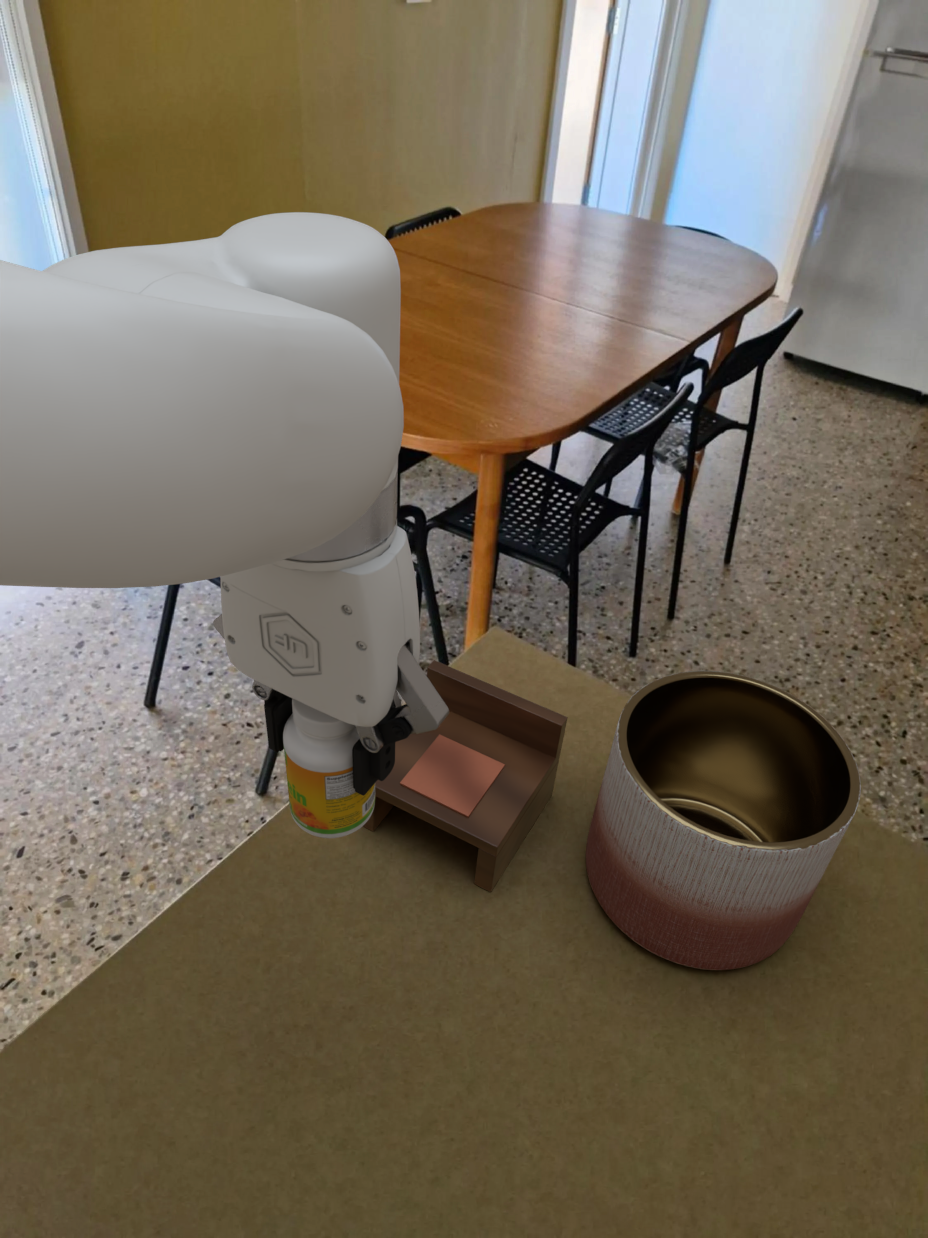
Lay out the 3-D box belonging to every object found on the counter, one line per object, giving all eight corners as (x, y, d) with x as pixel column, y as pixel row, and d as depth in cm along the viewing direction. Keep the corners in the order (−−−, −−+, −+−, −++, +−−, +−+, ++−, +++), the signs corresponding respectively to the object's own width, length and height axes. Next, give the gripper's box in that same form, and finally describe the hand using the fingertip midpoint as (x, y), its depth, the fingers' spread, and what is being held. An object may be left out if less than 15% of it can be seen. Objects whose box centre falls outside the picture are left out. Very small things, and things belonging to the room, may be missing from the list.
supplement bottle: (278, 789, 57) (266, 680, 51) (356, 763, 59) (353, 655, 53) (306, 853, 54) (297, 744, 48) (388, 823, 56) (389, 714, 50)
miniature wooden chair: (490, 893, 72) (502, 814, 66) (357, 824, 76) (356, 744, 70) (552, 794, 80) (567, 717, 74) (429, 737, 85) (434, 659, 78)
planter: (540, 879, 73) (566, 749, 63) (655, 764, 84) (693, 638, 74) (730, 1026, 65) (795, 902, 55) (832, 877, 75) (902, 751, 65)
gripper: (124, 480, 42) (178, 739, 54) (433, 605, 37) (419, 865, 48) (229, 420, 48) (258, 668, 59) (514, 521, 42) (484, 774, 53)
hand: (330, 754), depth 53 cm, fingers closed on supplement bottle, 5 cm apart
